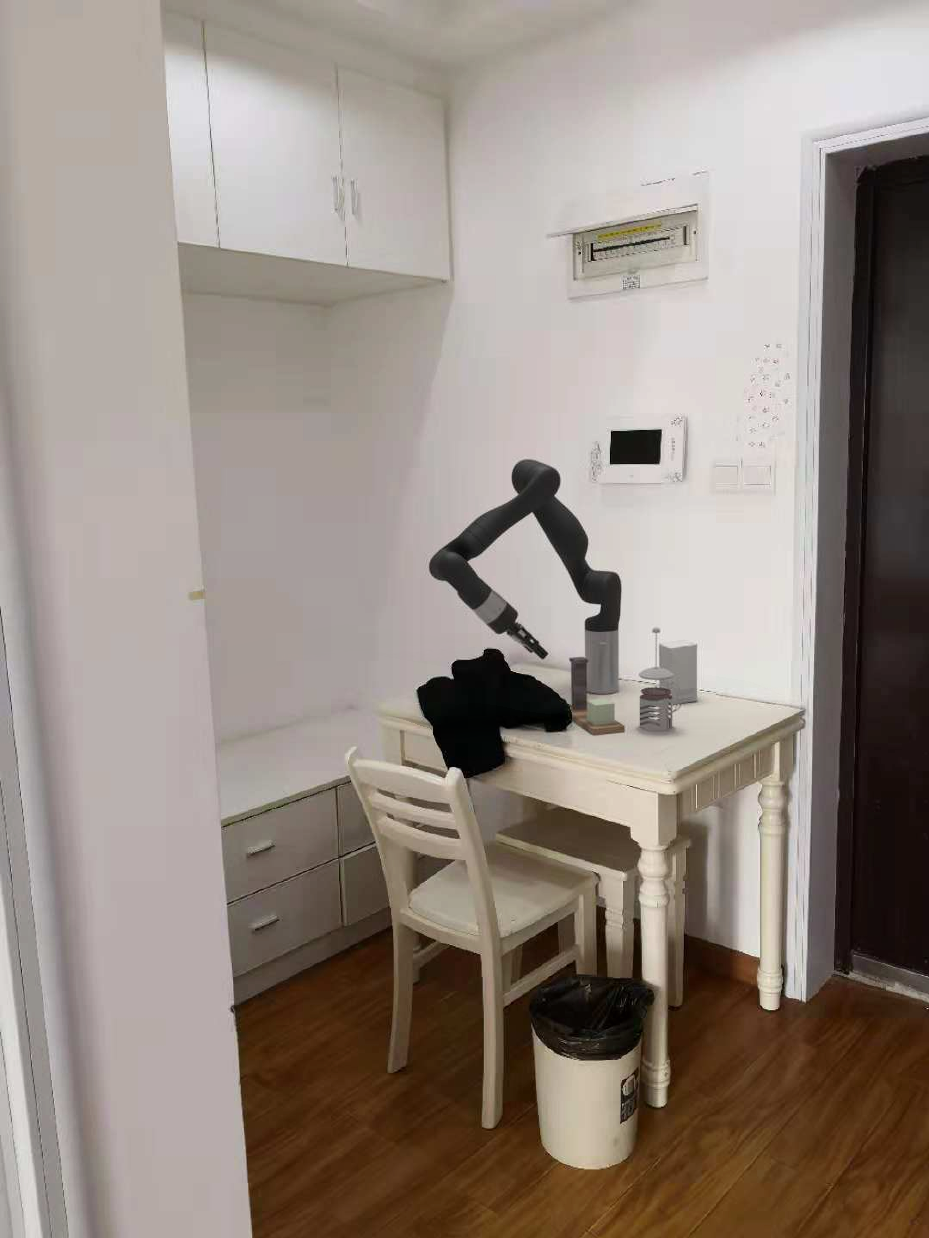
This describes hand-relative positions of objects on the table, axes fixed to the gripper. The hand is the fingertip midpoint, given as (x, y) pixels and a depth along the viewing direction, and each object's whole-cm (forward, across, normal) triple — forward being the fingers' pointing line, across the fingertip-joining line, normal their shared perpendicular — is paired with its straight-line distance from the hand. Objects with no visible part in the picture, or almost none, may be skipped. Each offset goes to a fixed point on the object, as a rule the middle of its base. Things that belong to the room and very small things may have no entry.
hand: (539, 653), depth 260 cm
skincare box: (+40, +3, -16) cm, 43 cm away
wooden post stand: (+19, -8, +4) cm, 21 cm away
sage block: (+18, -14, +3) cm, 23 cm away
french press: (+28, -20, -4) cm, 35 cm away
